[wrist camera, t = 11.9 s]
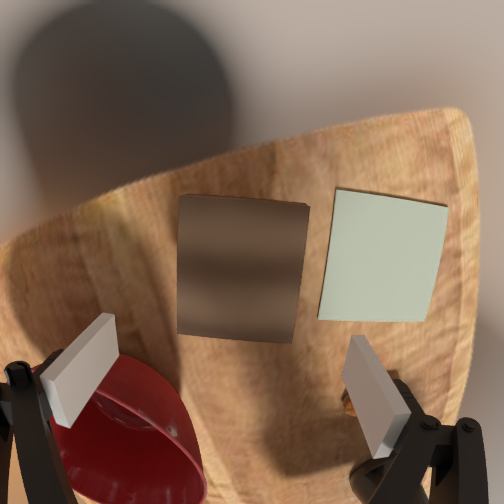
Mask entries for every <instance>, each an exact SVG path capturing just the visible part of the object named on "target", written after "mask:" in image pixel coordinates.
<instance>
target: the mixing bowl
mask: <svg viewBox="0 0 504 504" xmlns="http://www.w3.org/2000/svg"><path fill="white" fill-rule="evenodd" d="M42 364H43V363H42ZM40 365H41V364H40ZM40 365H37V366H35V367H33V368H31V371H32V373H33V372H34V371H35V370H36V369H37V368H38V367H39V366H40ZM6 383H8V381H7V382H6ZM49 421H50V423H51V426H52V430H53V433H54V437H55V440H56V444H57V447H58V450H59V454H60V457H61V460H62V463H63V466H64V469H65V471H66V474H67V477H68V480H69V482H70V485H71V487H72V489H73V490H74V491H76V492H78V493H79V494H81V495H83V496H85V497H87V498H89V499H91V500H93V501H95V502H97V503H100V504H202V503H203V502H204V501H205V499H206V496H207V482H206V479H205V476H204V474H203V466H202V460H201V454H200V449H199V445H198V441H197V438H196V434H195V431H194V428H193V425H192V421H191V419H190V417H189V414H188V412H187V410H186V407H185V405H184V403H183V402H182V400H181V398H180V396H179V395H178V393H177V392H176V390H175V389H174V388H173V387H172V385H171V384H170V383H169V382H168V381H167V380H166V379H165V378H164V377H163V376H162V375H161V374H159V373H158V372H157V371H156V370H154V369H153V368H151V367H150V366H148V365H147V364H145V363H143V362H141V361H139V360H137V359H135V358H133V357H130V356H127V355H124V354H121V353H119V356H118V358H117V359H116V361H115V362H114V364H113V365H112V367H111V368H110V369H109V371H108V372H107V374H106V375H105V377H104V378H103V380H102V381H101V382H100V384H99V385H98V387H97V388H96V390H95V391H94V393H93V394H92V396H91V397H90V399H89V400H88V402H87V403H86V405H85V406H84V408H83V409H82V411H81V412H80V414H79V415H78V417H77V418H76V420H75V421H74V423H73V424H72V426H71V428H68V427H65V426H62V425H59V424H57V423H56V421H55V419H54V416H53V415H52V416H51V418H50V419H49Z"/></svg>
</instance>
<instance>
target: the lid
mask: <svg viewBox="0 0 504 504" xmlns="http://www.w3.org/2000/svg"><path fill="white" fill-rule="evenodd" d="M309 213H310V206H308V205H307V204H305V203H298V202H288V201H277V200H266V199H255V198H242V197H229V196H215V195H199V194H185V195H182V196H179V214H178V242H177V334H183V335H192V336H201V337H210V338H221V339H232V340H244V341H257V342H272V343H291V344H292V338H293V332H294V325H295V319H296V312H297V306H298V299H299V292H300V285H301V278H302V270H303V263H304V255H305V247H306V239H307V230H308V222H309Z"/></svg>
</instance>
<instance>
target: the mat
mask: <svg viewBox="0 0 504 504" xmlns="http://www.w3.org/2000/svg"><path fill="white" fill-rule="evenodd" d="M448 212H449V208H448V207H443V206H438V205H433V204H427V203H422V202H416V201H410V200H404V199H398V198H392V197H386V196H379V195H373V194H366V193H359V192H351V191H344V190H336V194H335V203H334V212H333V220H332V228H331V236H330V243H329V250H328V257H327V264H326V271H325V277H324V284H323V290H322V296H321V302H320V307H319V313H318V320H339V321H385V322H418V321H425V318H426V315H427V311H428V308H429V304H430V300H431V296H432V293H433V289H434V285H435V280H436V276H437V272H438V267H439V263H440V258H441V253H442V248H443V242H444V237H445V231H446V225H447V218H448Z"/></svg>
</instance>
